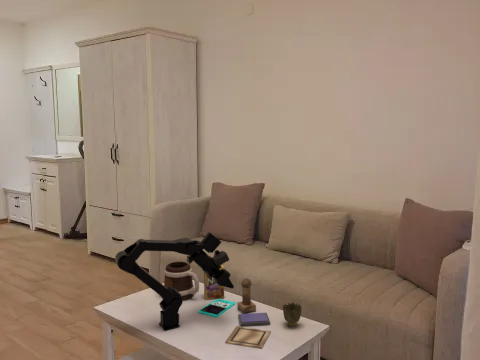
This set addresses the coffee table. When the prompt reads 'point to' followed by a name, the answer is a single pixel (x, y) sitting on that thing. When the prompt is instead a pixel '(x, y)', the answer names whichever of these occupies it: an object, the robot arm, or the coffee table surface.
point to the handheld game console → (216, 307)
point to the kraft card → (248, 337)
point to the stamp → (246, 298)
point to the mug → (181, 279)
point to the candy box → (212, 288)
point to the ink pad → (253, 319)
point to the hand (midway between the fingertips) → (228, 283)
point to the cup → (292, 313)
